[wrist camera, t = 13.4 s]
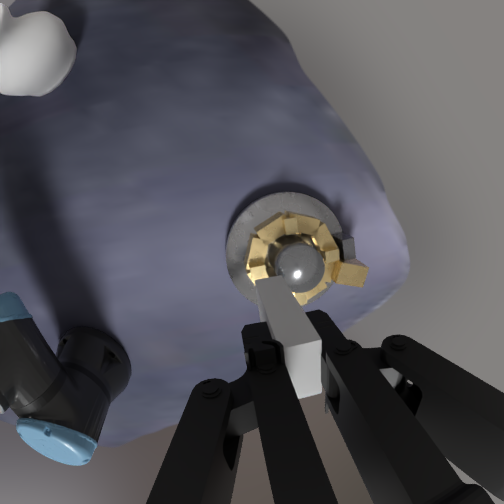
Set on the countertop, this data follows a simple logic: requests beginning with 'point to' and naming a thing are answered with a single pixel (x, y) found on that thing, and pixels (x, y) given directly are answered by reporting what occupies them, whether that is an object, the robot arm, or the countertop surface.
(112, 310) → the countertop surface
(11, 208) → the countertop surface
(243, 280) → the flange
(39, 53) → the vase
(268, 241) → the gold crown ring
